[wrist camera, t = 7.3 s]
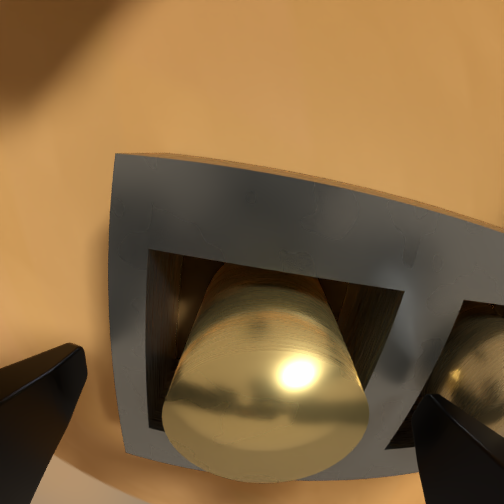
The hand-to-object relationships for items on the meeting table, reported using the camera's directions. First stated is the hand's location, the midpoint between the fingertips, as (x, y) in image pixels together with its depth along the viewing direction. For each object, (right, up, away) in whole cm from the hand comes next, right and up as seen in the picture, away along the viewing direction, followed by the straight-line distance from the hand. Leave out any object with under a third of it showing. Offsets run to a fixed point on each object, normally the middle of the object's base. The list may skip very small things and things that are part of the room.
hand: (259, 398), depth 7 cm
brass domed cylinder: (0, +1, +5) cm, 5 cm away
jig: (+4, +1, +5) cm, 6 cm away
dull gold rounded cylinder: (+8, 0, +5) cm, 9 cm away
